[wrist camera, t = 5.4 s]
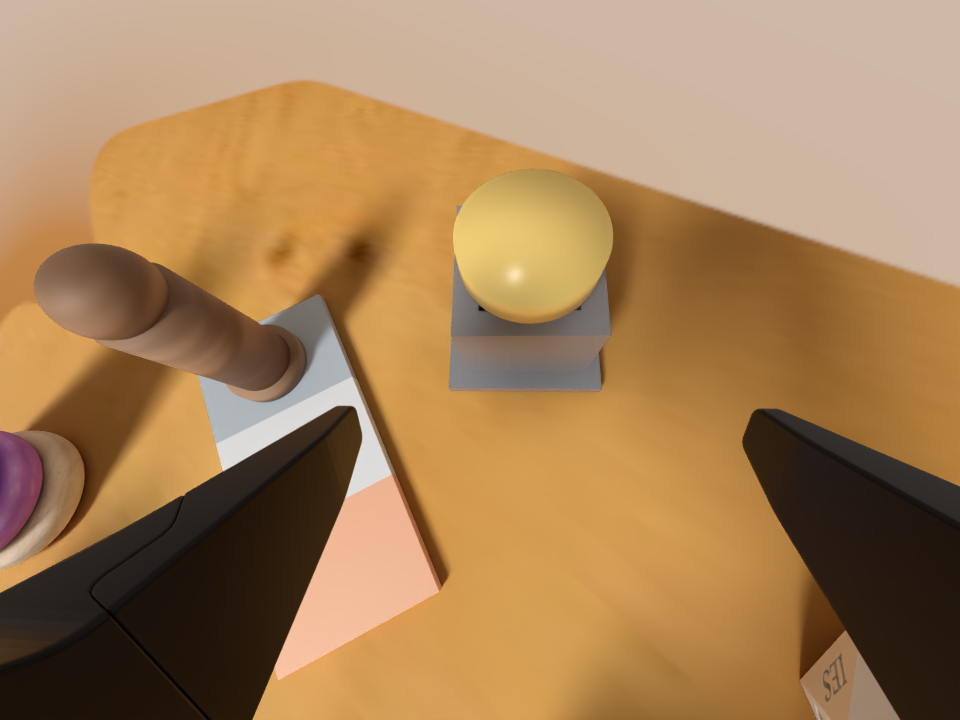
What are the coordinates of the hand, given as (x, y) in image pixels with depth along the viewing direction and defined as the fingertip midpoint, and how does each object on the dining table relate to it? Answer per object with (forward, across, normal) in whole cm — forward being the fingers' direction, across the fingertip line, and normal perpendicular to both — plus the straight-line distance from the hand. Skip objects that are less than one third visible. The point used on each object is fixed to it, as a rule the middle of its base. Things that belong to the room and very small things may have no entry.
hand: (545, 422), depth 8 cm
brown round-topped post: (+13, +16, +6) cm, 21 cm away
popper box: (+15, 0, +4) cm, 16 cm away
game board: (+9, +13, +10) cm, 19 cm away
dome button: (+14, 0, +2) cm, 14 cm away
